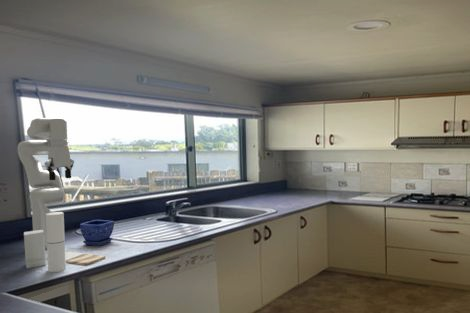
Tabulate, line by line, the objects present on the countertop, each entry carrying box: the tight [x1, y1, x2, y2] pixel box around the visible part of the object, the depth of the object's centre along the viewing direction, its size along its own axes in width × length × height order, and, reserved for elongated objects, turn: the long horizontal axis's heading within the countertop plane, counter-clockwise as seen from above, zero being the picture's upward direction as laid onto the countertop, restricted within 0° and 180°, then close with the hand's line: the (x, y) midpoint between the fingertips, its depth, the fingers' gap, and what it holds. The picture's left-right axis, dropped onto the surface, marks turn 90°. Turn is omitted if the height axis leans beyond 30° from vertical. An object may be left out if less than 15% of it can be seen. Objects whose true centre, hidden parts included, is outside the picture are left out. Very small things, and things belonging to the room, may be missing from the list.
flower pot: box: [79, 219, 115, 247], centre depth 225 cm, size 13×13×12 cm
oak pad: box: [66, 253, 106, 266], centre depth 194 cm, size 12×12×1 cm
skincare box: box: [23, 230, 47, 269], centre depth 188 cm, size 8×7×16 cm
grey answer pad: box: [46, 250, 85, 263], centre depth 199 cm, size 12×12×1 cm
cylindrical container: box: [46, 211, 67, 273], centre depth 181 cm, size 7×7×25 cm
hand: (60, 179), depth 198 cm, fingers open, 9 cm apart
